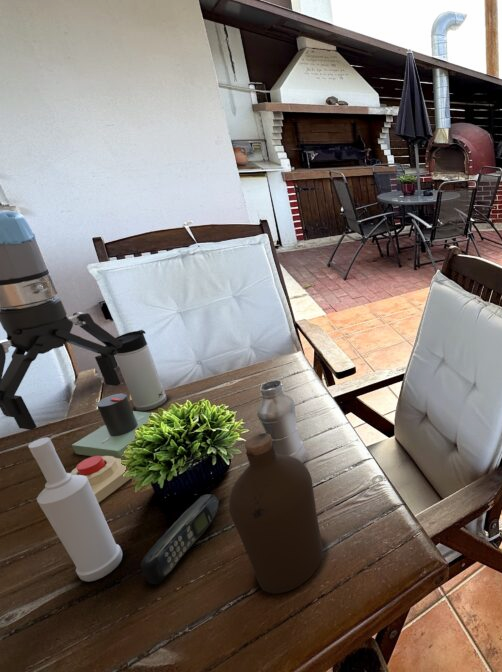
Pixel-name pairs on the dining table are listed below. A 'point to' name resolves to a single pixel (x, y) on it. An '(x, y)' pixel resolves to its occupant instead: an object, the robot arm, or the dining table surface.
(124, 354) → the travel mug
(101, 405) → the timer dial
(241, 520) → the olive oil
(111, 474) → the button block
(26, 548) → the dining table surface
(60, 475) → the bottle
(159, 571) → the mobile phone
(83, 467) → the power button
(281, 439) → the plastic bottle
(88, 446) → the control panel
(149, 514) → the dining table surface
